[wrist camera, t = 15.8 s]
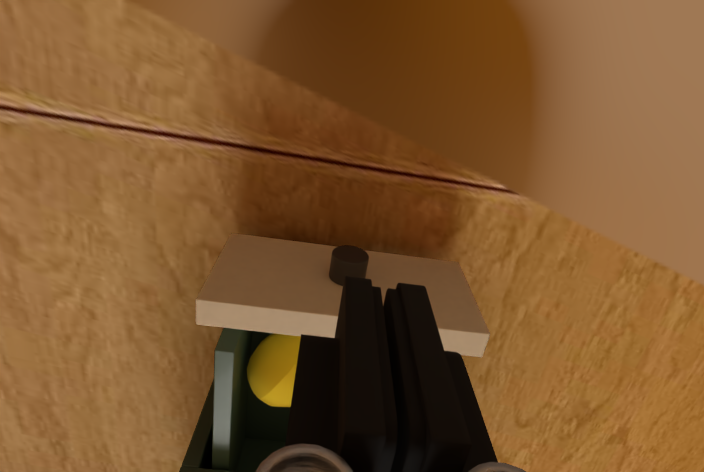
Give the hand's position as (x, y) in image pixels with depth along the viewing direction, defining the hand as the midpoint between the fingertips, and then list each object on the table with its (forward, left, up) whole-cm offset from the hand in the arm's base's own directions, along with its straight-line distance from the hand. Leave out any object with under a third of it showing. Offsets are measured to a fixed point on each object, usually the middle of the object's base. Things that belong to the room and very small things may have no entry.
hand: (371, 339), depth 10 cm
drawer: (+10, 0, -12) cm, 16 cm away
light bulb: (+9, 0, -10) cm, 14 cm away
